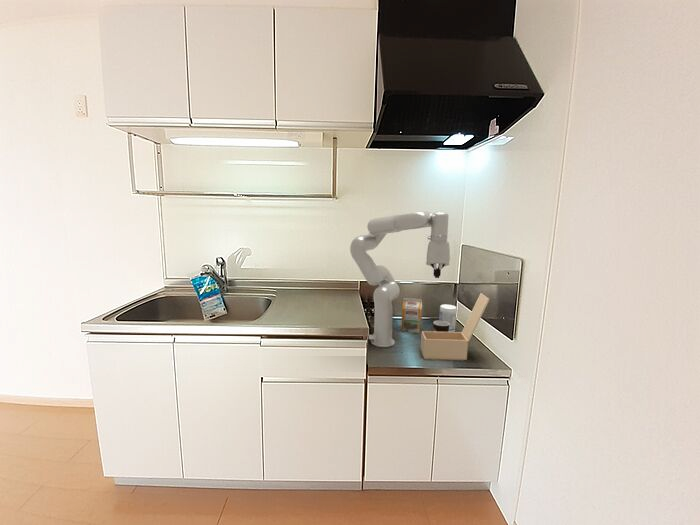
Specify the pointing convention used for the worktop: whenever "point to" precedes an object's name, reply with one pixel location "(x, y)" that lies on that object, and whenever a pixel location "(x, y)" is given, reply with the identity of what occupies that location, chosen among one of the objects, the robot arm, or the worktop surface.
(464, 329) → the carton flap
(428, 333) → the carton
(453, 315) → the supplement tub
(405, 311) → the printed food package
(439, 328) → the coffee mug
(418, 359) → the worktop surface
